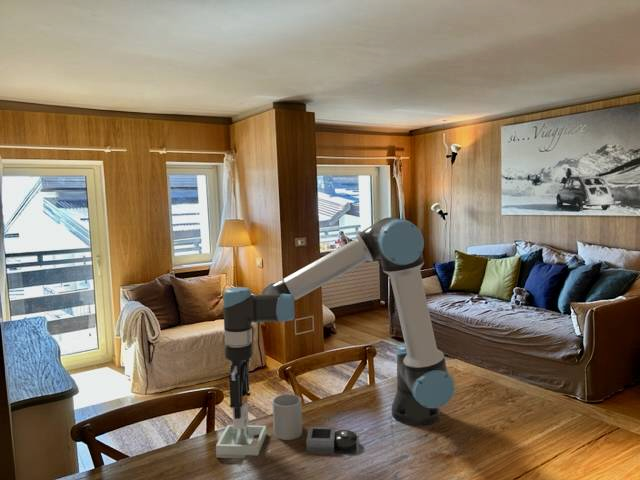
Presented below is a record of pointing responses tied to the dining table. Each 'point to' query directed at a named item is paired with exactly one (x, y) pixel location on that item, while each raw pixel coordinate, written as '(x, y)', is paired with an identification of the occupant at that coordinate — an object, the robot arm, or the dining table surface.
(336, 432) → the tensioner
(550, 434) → the dining table surface
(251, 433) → the tray
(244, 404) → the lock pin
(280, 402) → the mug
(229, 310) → the robot arm
